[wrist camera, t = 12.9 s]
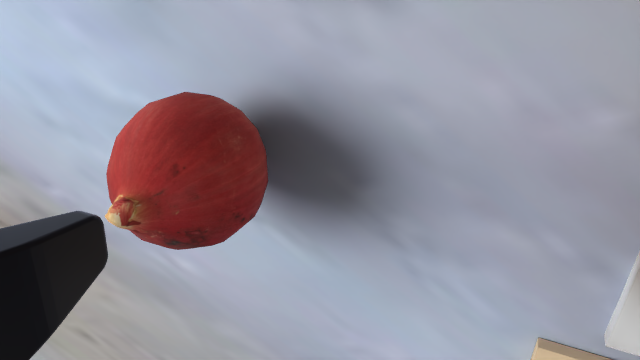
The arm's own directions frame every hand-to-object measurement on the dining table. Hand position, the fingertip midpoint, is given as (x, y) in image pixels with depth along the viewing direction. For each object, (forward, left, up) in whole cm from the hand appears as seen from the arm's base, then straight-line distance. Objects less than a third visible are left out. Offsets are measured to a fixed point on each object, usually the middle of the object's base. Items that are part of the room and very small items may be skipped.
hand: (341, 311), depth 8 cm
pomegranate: (-4, +9, -13) cm, 16 cm away
